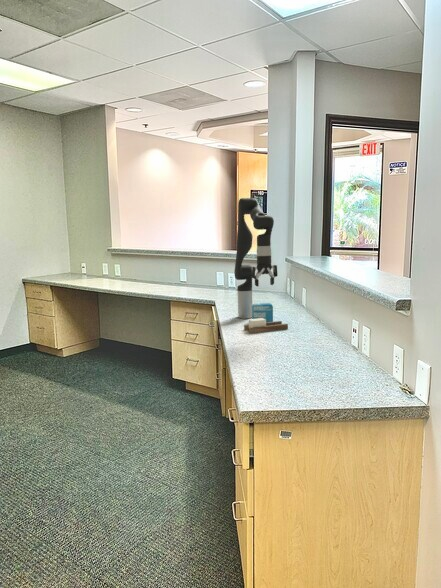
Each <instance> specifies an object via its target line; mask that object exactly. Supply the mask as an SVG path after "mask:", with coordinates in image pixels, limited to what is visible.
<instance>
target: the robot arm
mask: <svg viewBox="0 0 441 588" xmlns="http://www.w3.org/2000/svg"><path fill="white" fill-rule="evenodd" d="M237 208H238V209H237V218H238V219H237V220H238V221H237V225H238V226H237V233H236V234H237V236H236V252H235V253H236V257H235V263H234V265H235V266H234V278H235V280H236V281H243V280H244V282H243V283H242V284H240V285H237V288H236V289H237V318H239V319H252V318H251V317H252V305H253V279H254V286H256V287H260V286H259V284H260V283H259V280H260V279H259V278H260V277H261V276H262V275H269V277H270V278H269V279H270V281H269V282H270V283H269V285H271V286H273V285H274V284H275V278H276V277H278V265H276V264H273V265H272V246H271V244H272V241H271V236H272V232H273V228H274V224H275V223H274V222H275V220H274V218H273V216H272V215H266V214H265V213H264V212H263V210H262V209H261V207H260V204H259V201H258V200H257V199H256V198H253V197H242V198H239V200H238V205H237ZM245 215H250V216H249V217H250V219H251V220H252V222H253V224H252V226H253V228H254V229H255V230H258V231H259V230H261V231H262V230H265V231H264V233H260V234H258V235H257V236H256V266H252V265H251V264H243V262H244V259H245V257H246V256H247V255H248V253H249V252H250V251H251V249H252V247H253V238H254V237H253V233H252V231H251V230H250V228H249V226H248V225H247V223H246V219H245ZM271 270H272V271H271Z"/></svg>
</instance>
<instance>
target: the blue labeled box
mask: <svg viewBox="0 0 441 588" xmlns="http://www.w3.org/2000/svg"><path fill="white" fill-rule="evenodd" d="M257 318H263V319H266V323H267V322H274V306H273V304H272V303H271V302H265V303H264V302H263V303H262V302H261V303H260V302H259V303H252V318H251V319H257Z"/></svg>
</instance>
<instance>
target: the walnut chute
mask: <svg viewBox="0 0 441 588" xmlns="http://www.w3.org/2000/svg"><path fill="white" fill-rule="evenodd" d="M288 329H289V324H288V323H283V322H282V320H277V321H273V322H267V323H266V326H261V327H253V328H249V324H244V325H243V331H248V333H249V334H251V335H252V334H257V333H258V334H259V333H266V332H274V331H275V332H276V331H281V330H282V331H283V330H288Z"/></svg>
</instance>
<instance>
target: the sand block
mask: <svg viewBox="0 0 441 588" xmlns="http://www.w3.org/2000/svg"><path fill="white" fill-rule="evenodd" d="M248 325H249V328H253V327H261V326H266V319H263V318H257V319H252V318H248Z"/></svg>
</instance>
